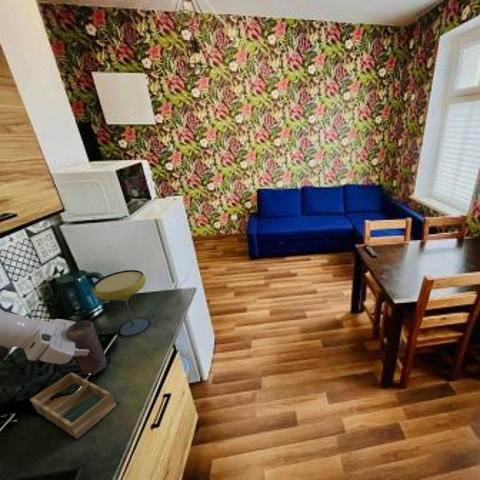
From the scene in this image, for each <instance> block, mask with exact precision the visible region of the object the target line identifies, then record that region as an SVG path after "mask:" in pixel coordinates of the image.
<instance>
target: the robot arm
mask: <svg viewBox="0 0 480 480" xmlns="http://www.w3.org/2000/svg"><path fill="white" fill-rule="evenodd" d="M76 322H77V321H74V320H69V319H62V318H55V319H53V318H50V319H46V320H42V319H39V318H28V317H26V316H23V315H21V314H19V313H17V312H15V311H12V310H9V309H8V308H6V307H4V306H2V305H1V304H0V364H1V363H3V362H4V361H5V360H6V359H7V357H8V356H9V355H10V354H11V352H12V349H13V348H19V349H22V350H23V352H24V353H25V355H26V359H27V360H28V361H32V362H33V361H37V360H39V361H41V362H44V363H49V364H55V365H57V364H58V365H66V364H68V363H70V361H71V360H72V359H73V357H76V356H79V355H83V356H86V355H88V353H89V349H86V348H84V349H81V350H78V348H75V344H76V342H74V341H72V340H71V339H69V338H68V336H67V333H66V330H67V329H68V327H69V326H71V325H72V324H74V323H76Z"/></svg>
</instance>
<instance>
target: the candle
mask: <svg viewBox="0 0 480 480" xmlns="http://www.w3.org/2000/svg"><path fill="white" fill-rule="evenodd" d="M75 322H76V323H74V324H72V325H71V326H69V327H68V329H67V330H66V333H67V336H68V338H69V339H71V340H72V341H74V342H76V344H75V348H78V350H81V349H84V348H86V349H89V353H88V355H86V356H83V355H79V356H75V358H76V360H77V363H78V365H79V368H80V371H81V373H82V374H83V373H84V374H88V373H91V375H90V376H89V377H91V376H93V375H96V374H97V373H99V372H101V371H102V370H104V369H105V368H106V366H107V365H108V359H107V357H106V355H105V352H104V349H103V347H102V344H101V341H100V339H99V337H98V334H97V330H96V328H95V326H94V323H93V322H92V321H90V320H80V321H75Z"/></svg>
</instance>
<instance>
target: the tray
mask: <svg viewBox="0 0 480 480" xmlns="http://www.w3.org/2000/svg"><path fill="white" fill-rule="evenodd" d="M73 383H76V384H78V385H80V386H82V388H81V389H80V390H78V391H77V392H75V393H74V394H71V395H67V396H62V397H59V398H54V399H53V400H50V398H51V397H52V396H54V395H55V394H56V393H58V392H60V391H62V390H63V389H65V388H67V387H68V386H70V385H71V384H73ZM29 401H30V402H31V404H32V406H33V407H34V409H35V411H36V412H37V413H39V414H40V415H41V416H43V417H44V418H46V419H47V420H49V421H50V422H51V423H53V424H54V425H56V426H57V427H59V428H60V429H62V430H63V431H65V432H66V433H68V434H69V435H70V436H72V437H73V438H75V439H76V440H78V439H79V438H81V437H82V436H83V435H84V434H85V433H87V431H89V430H90V428H92V427H94V425H96V424H97V423H98V422H99V421H100V420H102V419H103V418H104V417H105V416H106V415H107V414H108V413H110V412H111V411H112V410H113V409H114V408H116V407H117V403H116V401H115V399H114V396H113V394H112V392H109V391H108V390H105V389H104V388H102V387H100V386H98V385H97V384H94V383H93V382H91V381H90V380H87V379H86V378H83V377H82V376H79V375H78V374H76V373H74V372H73V371H71V372H69V373H68V374H66V375H64V376H63V377H62V378H60V379H59V380H57V381H55V382H54V383H53V384H51V385H50V386H48V387H46V388H44V389H43V390H41V391H40V392H39V393H37V394H36V395H34V396H32V397H31V398H29Z"/></svg>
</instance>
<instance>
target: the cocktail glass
mask: <svg viewBox="0 0 480 480" xmlns="http://www.w3.org/2000/svg"><path fill="white" fill-rule="evenodd" d="M145 285H146V276H145V274H144V272H143V271H140V270H137V269H128V270H127V269H126V270H121V271H116V272H112V273H110V274H107V275H105V276H103V277H101V278H99V279H97V280H96V281H95V282H94V283H93V285H92V289H91V290H92V293H93V295H94V297H96V298H97V299H99V300H102V301H119V300H120V301H122V302H124V303H125V305H126V309H127V311H128V315H129V319H130V321H129V322H127V323H125V324H123V326H122V327H121V328H120V330H119V333H120V335H122V336H124V337H125V336H126V337H129V336H134V335H137V334H139V333H141V332H143V331H144V330H145V329H147V328H148V326H149V320H148V319H144V318H138V319H134V318H133V315H132V312H131V309H130V307H129V304H128V300H129V299H130V297H132V296H134V295H135V294H137V293H138V292H139V291H141V290H142V289H143V288H144V287H145Z"/></svg>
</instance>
